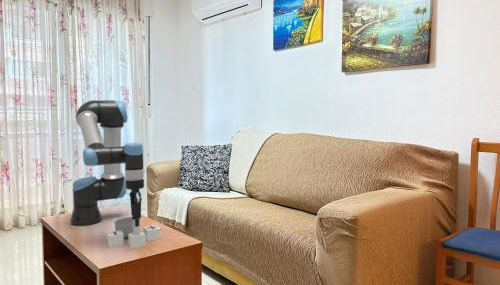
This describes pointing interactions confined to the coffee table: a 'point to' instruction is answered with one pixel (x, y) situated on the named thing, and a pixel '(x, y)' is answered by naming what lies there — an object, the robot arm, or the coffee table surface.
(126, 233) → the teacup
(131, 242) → the plain block
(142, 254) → the coffee table surface
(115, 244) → the marked block bar
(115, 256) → the coffee table surface
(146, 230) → the marked block cross
